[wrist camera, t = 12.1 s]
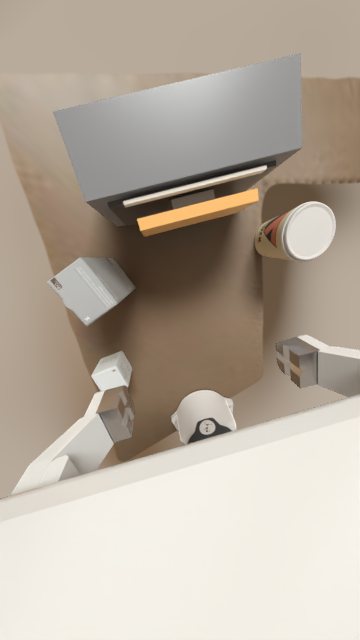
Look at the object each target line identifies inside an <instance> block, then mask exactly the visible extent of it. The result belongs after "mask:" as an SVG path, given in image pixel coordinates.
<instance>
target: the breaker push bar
mask: <svg viewBox="0 0 360 640" xmlns="http://www.w3.org/2000/svg"><path fill="white" fill-rule="evenodd" d="M257 201H259V200H258V188H257V189H253V190H249V191H245V192H241V193H237V194H233V195H229V196H225V197H221V198H218V199H215V194H214V189H212V190H208V191H204V192H200V193H196V194H192V195H188V196H184V197H180V198H176V199H172V200H171V202H170V211H166V212H163V213H159V214H155V215H151V216H147V217H143V218H139V219H137V221H138V224H139V228H140V231H141V233H142V234H143V236H144V237H145V236H149V235H153V234H157V233H161V232H165V231H169V230H172V229H176V228H180V227H184V226H188V225H192V224H196V223H200V222H203V221H207V220H211V219H215V218H219V217H223V216H227V215H231V214H235V213H238V212H240V211H241V210H243V209H245V208H246V207H248V206H250V205H252V204H253V203H255V202H257Z"/></svg>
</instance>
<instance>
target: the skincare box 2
mask: <svg viewBox="0 0 360 640" xmlns="http://www.w3.org/2000/svg"><path fill="white" fill-rule="evenodd" d="M131 372H132V367H131V365H130V363H129V362H128V360H127V358H126V356H125V355H124V353H123V351H119V352H117V353H114V354H112V355H109V356H107V357H104V358H102V359H100V361H99V363H98V365H97V366H96V368H95V370H94V372H93V374H92V375H91V377H92V378H93V380H94V381H95V383H96V384H97V386H98V387H99V389H100V390H101V391H104V390H108V389H112V388H116V387H119V386H123V385H125V386H127V387H128V386H129V381H130V377H131Z"/></svg>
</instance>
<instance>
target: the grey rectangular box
mask: <svg viewBox="0 0 360 640" xmlns="http://www.w3.org/2000/svg"><path fill="white" fill-rule="evenodd" d="M53 113H54V116H55V119H56V121H57V124H58V127H59V130H60V132H61V135H62V138H63V141H64V144H65V146H66V149H67V152H68V155H69V157H70V160H71V163H72V166H73V168H74V171H75V174H76V177H77V180H78V182H79V185H80V188H81V191H82V193H83V196H84V199H85V202H86V203H88V204H89V205H90V206H92V207H93V208H94V209H95V210H97V211H98V212H99V213H101V214H102V215H103V216H104V217H106V218H107V219H108V220H109V221H111V222H112V223H113V224H115V225H116V226H117V227H120V226H124V225H126V226H129V225H133V224H137V223H138V221H137V219H139V218H143V217H147V216H151V215H155V214H159V213H163V212H166V211H170V202H171V200H172V199H176V198H180V197H184V196H188V195H192V194H196V193H200V192H204V191H208V190H212V189H214V194H215V199H218V198H221V197H225V196H229V195H233V194H237V193H241V192H245V191H246V190H248V189H249V188H250V187H252V186H253V185H254V184H256V183H257V182H258V181H259V180H261V179H262V178H263V177H265V176H266V175H267V174H269V173H270V172H271V171H272V170H274V169H275V168H276V167H278V166H279V165H280V164H282V163H283V162H284V161H285V160H287V159H288V158H289V157H291V156H292V155H293V154H295V153H296V152H297V151H298V150H300V149H301V148H302V108H301V56H300V54H295V55H291V56H287V57H282V58H278V59H274V60H270V61H266V62H261V63H257V64H253V65H249V66H244V67H240V68H236V69H232V70H228V71H223V72H219V73H215V74H210V75H206V76H202V77H198V78H193V79H189V80H185V81H181V82H177V83H172V84H168V85H164V86H160V87H155V88H151V89H147V90H143V91H138V92H134V93H130V94H126V95H121V96H117V97H113V98H109V99H105V100H100V101H96V102H92V103H88V104H83V105H79V106H75V107H71V108H66V109H62V110H58V111H54V112H53Z"/></svg>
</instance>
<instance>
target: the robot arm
mask: <svg viewBox="0 0 360 640" xmlns="http://www.w3.org/2000/svg"><path fill="white" fill-rule="evenodd" d="M276 351H278V352H279V354H278V356H277V363H278V366H279V368H280V369H281V371H282V372H283V373H284V374H285V375H289V376H291V380H292V381H293V382H294V383H295V384H296V385H297V386H298V387H299V388H303V387H308V386H311V385H315V384H318V385H319V386H322V387H324V388H327V389H329V390H332V391H334V392H337V393H339V394H342V395H344V396H347V397H348V398H345V399H341V400H338V401H335V402H331V403H327V404H324V405H321V406H317V407H314V408H310V409H307V410H303V411H300V412H296V413H293V414H290V415H286V416H283V417H279V418H276V419H273V420H269V421H266V422H262V423H259V424H255V425H252V426H248V427H245V428H242V429H238V430H237V428H236V423H235V420H234V418H233V402H232V400H231V399H229V398H224V397H222V396H221V395H219V394H218V393H216V392H214V391H210V390H200V391H196V392H193V393H191V394H189V395H188V396H186V397H185V398H184V399H183V400H182V402H181V403H180V405H179V407H178V409H177V411H176V412H175V413H174V414H173V415H172V416H171V421H172V423H173V424H174V426H175V427H176V429H177V430H178V432H179V436H180V440H181V442H183V444H184V445H183V446H180V447H176V448H173V449H169V450H166V451H162V452H159V453H155V454H152V455H149V456H145V457H143V458H138V459H135V460H131V461H128V462H125V463H121V464H118V465H114V466H111V467H107V468H104V469H100V470H97V468H98V467H99V465H100V464H101V462H102V461H103V459H104V458H105V456H106V455H107V453H108V452H109V450H110V449H111V447H112V446H113V444H114V442H117V441H120V440H124V439H127V438H130V437H131V435H132V429H133V423H132V420H133V418H134V416H135V407H134V403H133V400H132V398H131V397H129V396H128V394H129V390H128V388H127V386H125V385H123V386H119V387H116V388H112V389H108V390H104V391H100V392H97V393H95V395H94V397H93V399H92V401H91V403H90V405H89V407H88V409H87V411H86V414H85V416H84V417H83V418H80V419H79V420H78V421H77V422H76V423H75V424H74V425H73V426H71V427H70V428H69V429H68V430H67V431H66V432H65V433H64V434H63V435H62V436H61V437H59V438H58V439H57V440H56V441H55V442H54V443H53V444H52V445H51V446H50V447H48V448H47V449H46V450H45V451H44V452H43V453H42V454H41V455H40V456H38V458H36V459H35V460H34V461H33V462H32V463H31V464H30V465H29V466H28V468H27V469H26V471H25V473H24V474H23V476H22V477H21V479H20V481H19V483H18V484H17V485H16V487H15V489H14V490H13V492H12V493H11V495H10V496H7V497H4V498H0V640H360V350H355V349H348V348H342V347H335V346H334V347H330V346H328V345H326V344H324V343H322V342H320V341H318V340H316V339H314V338H312V337H310V336H308V335H300V336H297V337H295V338H291V339H288V340H285V341H281V342H278V343H276ZM96 470H97V471H96Z"/></svg>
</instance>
